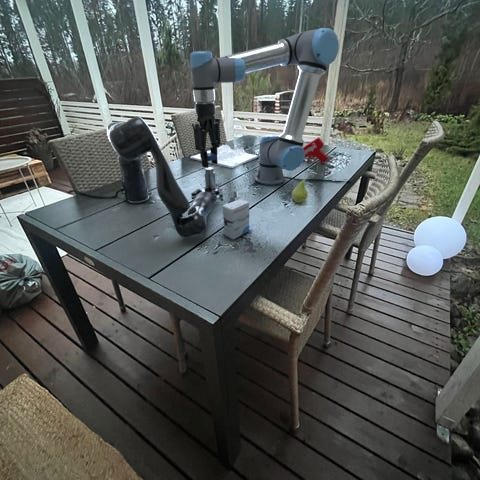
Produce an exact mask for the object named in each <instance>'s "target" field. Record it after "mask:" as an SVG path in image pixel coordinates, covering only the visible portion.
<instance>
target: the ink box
mask: <svg viewBox="0 0 480 480" xmlns="http://www.w3.org/2000/svg"><path fill="white" fill-rule="evenodd" d="M222 213H223V233H224V236H225V237H227V238H229V239H231V240H235V239H237V238H239V237H241V236H242V235H244V234H247V233H248V232H250V202H249V201H246V200H244V199H242V198H238V199H236V200H234V201H232V202H229V203H226V204H224V205H222Z"/></svg>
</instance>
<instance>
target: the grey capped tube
mask: <svg viewBox="0 0 480 480" xmlns="http://www.w3.org/2000/svg"><path fill="white" fill-rule="evenodd" d="M203 173H204V183H205V184H204V185H205V186H206V192H211V191H212V190H215V189H216V187H217V186H216V185H217V184H216V172H215V168H214V167H213V166H208V168H205V167H204V172H203ZM205 186H204V187H205ZM217 203H218V201H217V200H216V201H215V202H214V205H213V206H215V205H217Z"/></svg>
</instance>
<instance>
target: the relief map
mask: <svg viewBox="0 0 480 480" xmlns="http://www.w3.org/2000/svg"><path fill="white" fill-rule="evenodd" d="M206 151H207V153H211V150H206ZM217 153H218V154H217V162H218V164H213V163H212V162H211V161H208V164H212V165H215V166H221V167H224V168H229V169H235V168H237V167H239V166H241V165H244V164H246V163H250V162H251V161H253V160H256V159H258V157H259V155H256V154H252V153H247V152H246V151H245V150H244V148H238V149H233V148H231V147H230V146H229V145H228V144H222V145H219V148H218V147H217ZM190 159H191V160H196V161H199V162H202V159H201V156H200V153H198V154H194V155H191V156H190Z"/></svg>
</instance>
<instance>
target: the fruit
mask: <svg viewBox="0 0 480 480" xmlns="http://www.w3.org/2000/svg"><path fill="white" fill-rule="evenodd" d="M310 177H311V175H310V174H309V175H308V176H307V177H305V178H304V179H305V180H306V179H310ZM305 180H302V181H299V182H298V184H297V185H296V186H295V187H294V188H293V190H292V191H291V198H292V200H293V201H294V202H295V203H297V204H301V203H304V202H305V201H306V200H307V198H308V196H309V195H308V190H307V189H306V184H305V183H306V181H305Z"/></svg>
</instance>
